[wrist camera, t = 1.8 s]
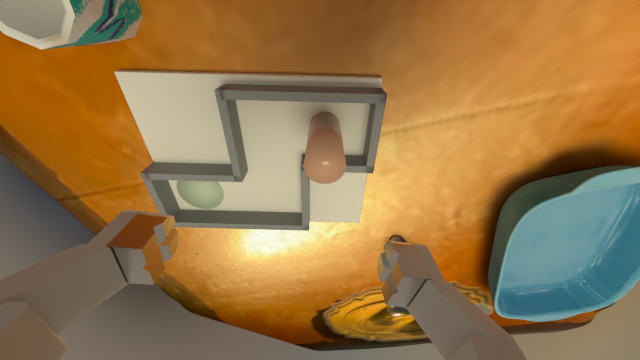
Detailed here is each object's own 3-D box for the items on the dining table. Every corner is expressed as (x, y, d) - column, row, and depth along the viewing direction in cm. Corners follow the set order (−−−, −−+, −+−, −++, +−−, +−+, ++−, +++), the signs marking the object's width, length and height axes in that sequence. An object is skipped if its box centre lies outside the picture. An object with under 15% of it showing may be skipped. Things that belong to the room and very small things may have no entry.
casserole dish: (490, 163, 35) (524, 193, 29) (671, 125, 31) (753, 150, 25) (470, 295, 55) (488, 328, 49) (580, 281, 51) (613, 315, 45)
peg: (341, 112, 29) (347, 148, 21) (339, 141, 31) (344, 184, 23) (309, 111, 29) (303, 146, 21) (309, 140, 31) (304, 183, 23)
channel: (380, 76, 28) (388, 84, 24) (358, 217, 41) (361, 236, 37) (121, 69, 28) (92, 76, 24) (181, 213, 41) (168, 231, 37)
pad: (218, 172, 34) (217, 173, 34) (227, 208, 38) (227, 209, 38) (171, 171, 34) (169, 172, 34) (185, 207, 38) (184, 208, 38)
